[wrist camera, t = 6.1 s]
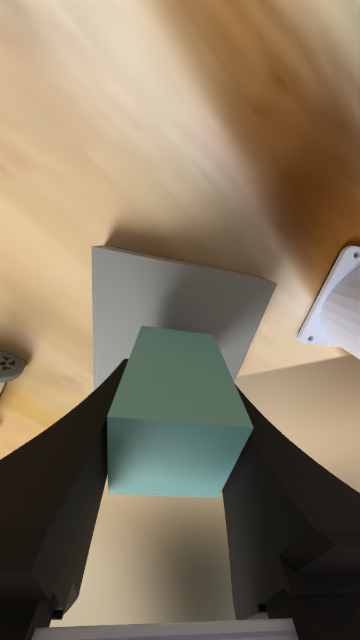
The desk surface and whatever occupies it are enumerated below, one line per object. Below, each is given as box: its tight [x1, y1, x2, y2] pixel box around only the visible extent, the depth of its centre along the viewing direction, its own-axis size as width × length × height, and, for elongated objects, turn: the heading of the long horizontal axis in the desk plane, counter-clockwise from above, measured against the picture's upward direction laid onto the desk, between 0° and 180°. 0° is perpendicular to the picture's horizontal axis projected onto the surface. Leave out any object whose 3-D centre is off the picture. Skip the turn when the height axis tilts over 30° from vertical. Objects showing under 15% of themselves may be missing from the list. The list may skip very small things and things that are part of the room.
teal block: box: [107, 325, 254, 497], centre depth 9 cm, size 4×4×6 cm
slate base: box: [92, 245, 277, 390], centre depth 15 cm, size 12×12×2 cm
